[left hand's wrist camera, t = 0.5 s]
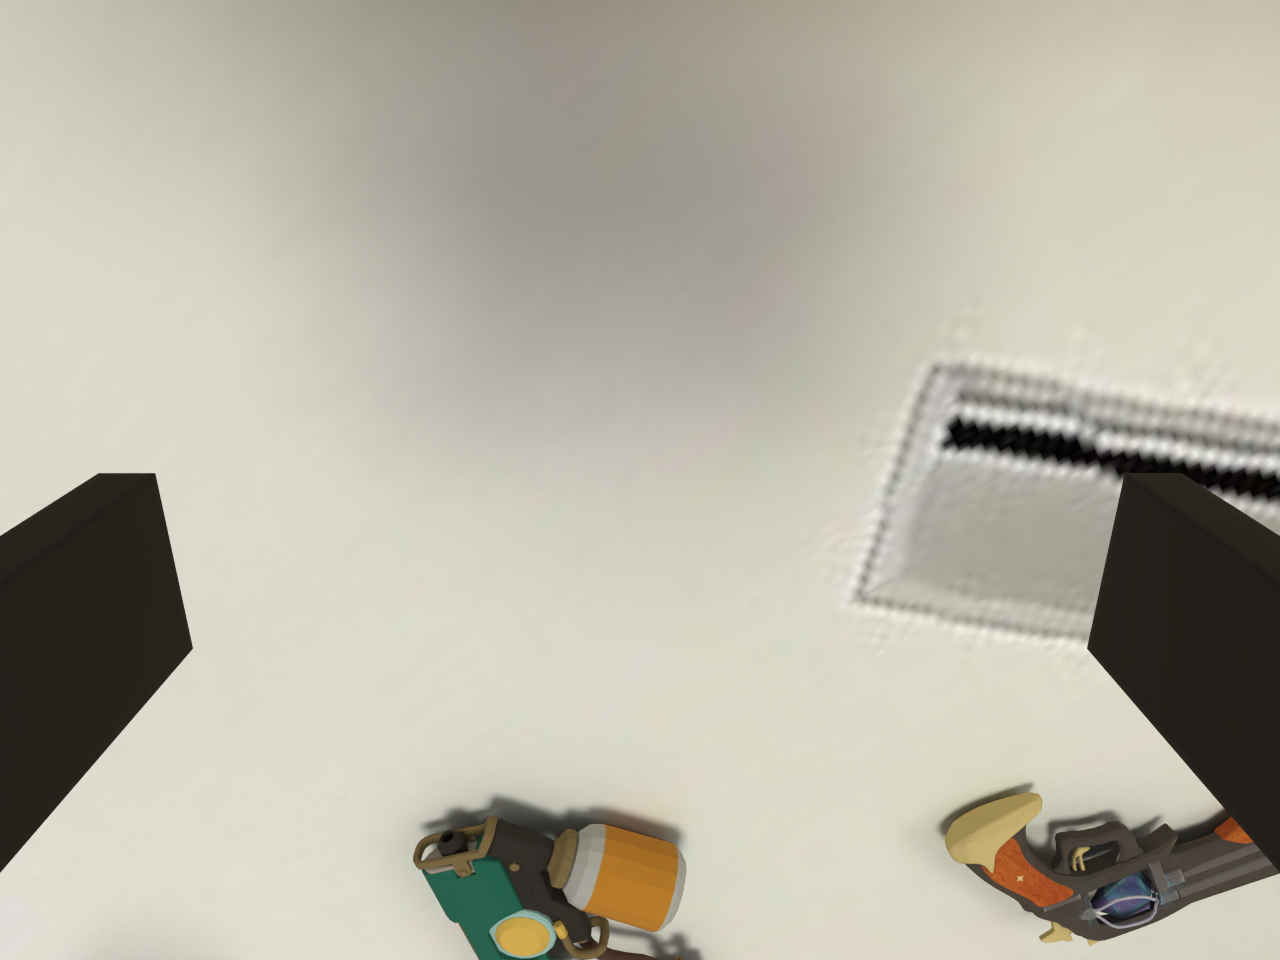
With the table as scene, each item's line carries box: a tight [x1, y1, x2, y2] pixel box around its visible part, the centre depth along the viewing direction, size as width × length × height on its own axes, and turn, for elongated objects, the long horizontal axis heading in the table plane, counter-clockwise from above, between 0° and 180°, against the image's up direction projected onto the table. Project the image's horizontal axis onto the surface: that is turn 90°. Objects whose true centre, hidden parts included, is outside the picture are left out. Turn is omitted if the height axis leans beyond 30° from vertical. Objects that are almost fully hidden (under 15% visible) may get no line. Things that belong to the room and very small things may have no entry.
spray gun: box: [413, 816, 686, 960], centre depth 47 cm, size 4×17×15 cm
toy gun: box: [945, 792, 1280, 946], centre depth 46 cm, size 3×19×10 cm
